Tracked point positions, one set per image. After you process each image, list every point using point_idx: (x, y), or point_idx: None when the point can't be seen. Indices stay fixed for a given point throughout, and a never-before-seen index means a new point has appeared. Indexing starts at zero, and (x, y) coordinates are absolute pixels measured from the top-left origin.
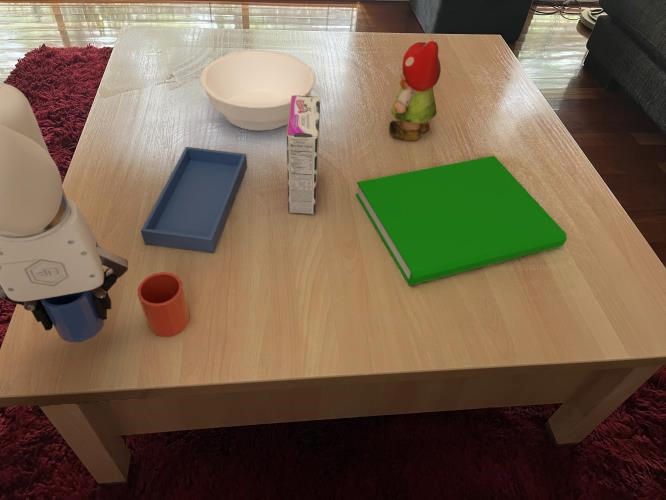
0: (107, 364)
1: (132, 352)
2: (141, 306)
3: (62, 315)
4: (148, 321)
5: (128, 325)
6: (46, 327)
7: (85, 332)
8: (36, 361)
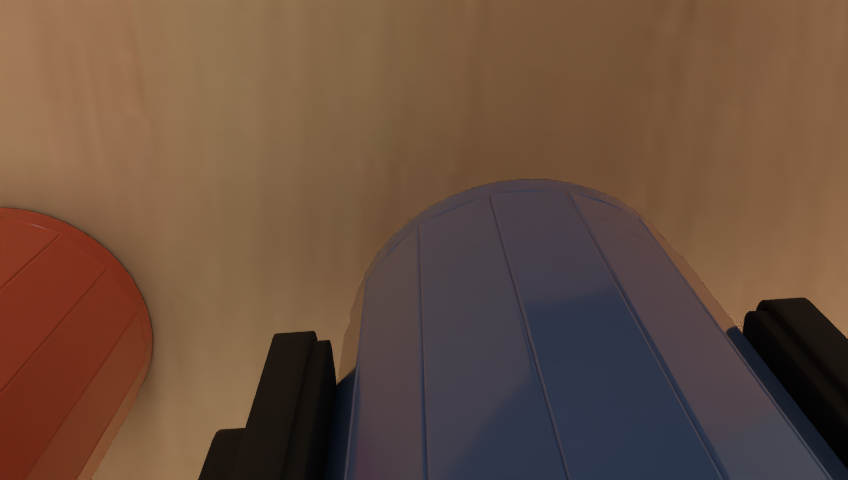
0: (379, 63)
1: (225, 127)
2: (53, 426)
3: (666, 388)
4: (65, 309)
5: (274, 328)
6: (805, 318)
7: (463, 232)
8: (807, 167)
